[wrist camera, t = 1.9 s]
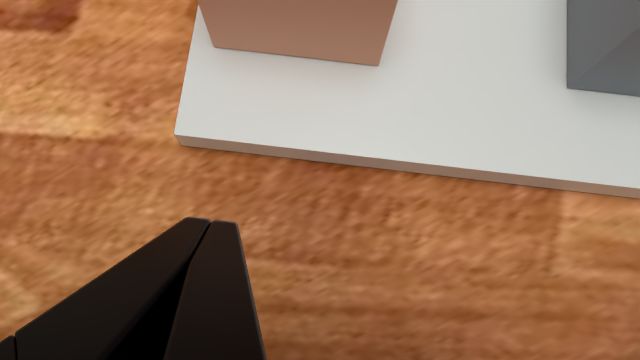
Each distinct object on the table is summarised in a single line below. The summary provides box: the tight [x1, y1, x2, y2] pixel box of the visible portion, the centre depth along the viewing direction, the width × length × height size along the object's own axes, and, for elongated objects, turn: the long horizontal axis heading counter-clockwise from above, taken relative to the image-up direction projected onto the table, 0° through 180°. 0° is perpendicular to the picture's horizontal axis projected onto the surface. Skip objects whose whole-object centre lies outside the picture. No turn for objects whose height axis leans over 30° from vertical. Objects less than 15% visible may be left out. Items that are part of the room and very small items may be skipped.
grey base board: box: [174, 0, 640, 199], centre depth 24 cm, size 39×13×2 cm, turn 83°
